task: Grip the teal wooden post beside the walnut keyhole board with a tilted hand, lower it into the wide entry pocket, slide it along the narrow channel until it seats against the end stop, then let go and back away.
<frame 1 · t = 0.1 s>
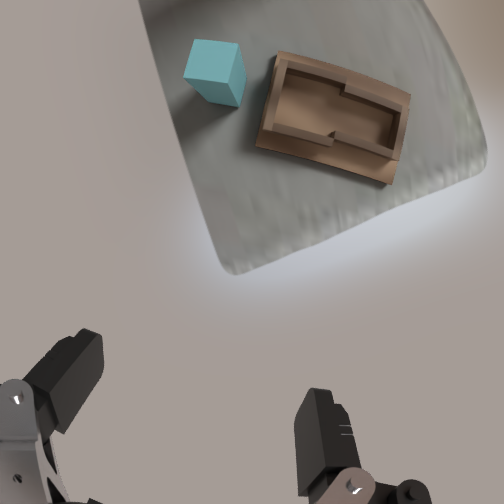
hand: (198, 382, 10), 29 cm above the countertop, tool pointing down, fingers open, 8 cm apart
keyhole board: (337, 116, 33), on the countertop
post: (227, 90, 33), on the countertop
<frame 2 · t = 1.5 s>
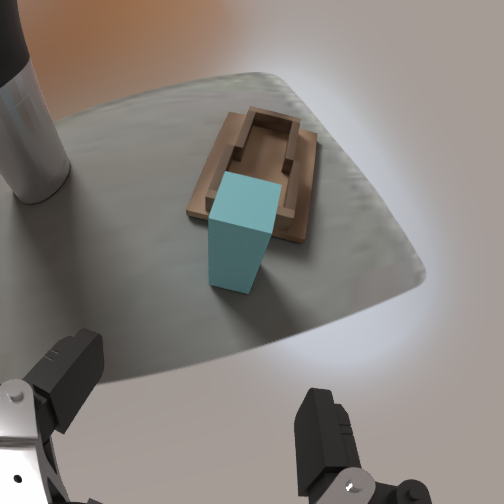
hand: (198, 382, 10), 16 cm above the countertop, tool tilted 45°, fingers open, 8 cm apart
keyhole board: (260, 169, 36), on the countertop
post: (233, 271, 30), on the countertop
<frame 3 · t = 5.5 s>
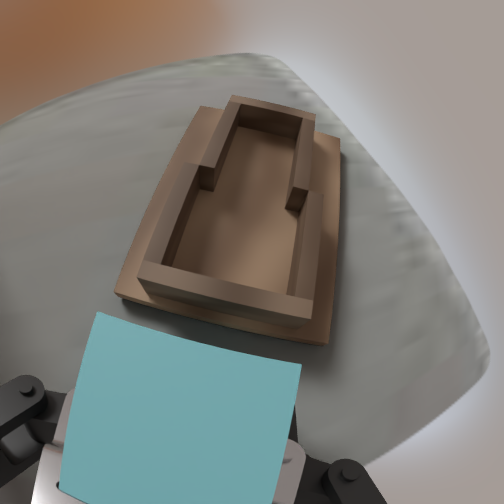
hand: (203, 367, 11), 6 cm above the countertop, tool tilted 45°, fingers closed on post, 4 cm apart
keyhole board: (248, 202, 21), on the countertop
post: (199, 405, 15), on the countertop, touching gripper
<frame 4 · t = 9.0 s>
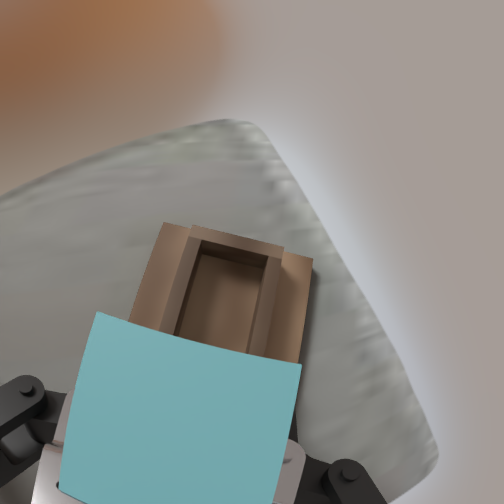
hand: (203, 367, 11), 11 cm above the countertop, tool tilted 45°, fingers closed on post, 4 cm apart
keyhole board: (211, 348, 21), on the countertop
post: (199, 405, 15), point 5 cm above the countertop, touching gripper
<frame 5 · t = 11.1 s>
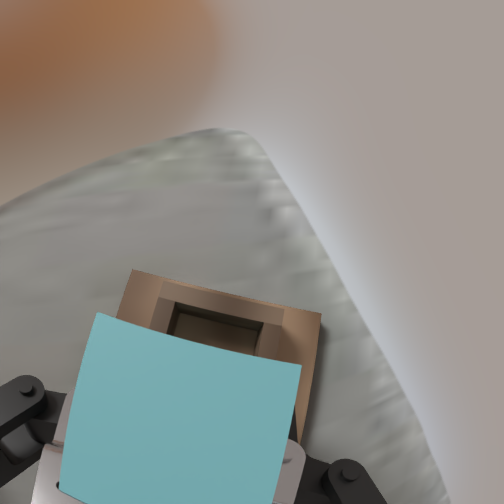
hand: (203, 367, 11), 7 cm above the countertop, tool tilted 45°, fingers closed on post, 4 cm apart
keyhole board: (195, 427, 16), on the countertop
post: (199, 406, 15), point 2 cm above the countertop, touching gripper
when the fingers open (7 cm above the countertop, at t = 12.9 s): post stays where it is, resting on keyhole board.
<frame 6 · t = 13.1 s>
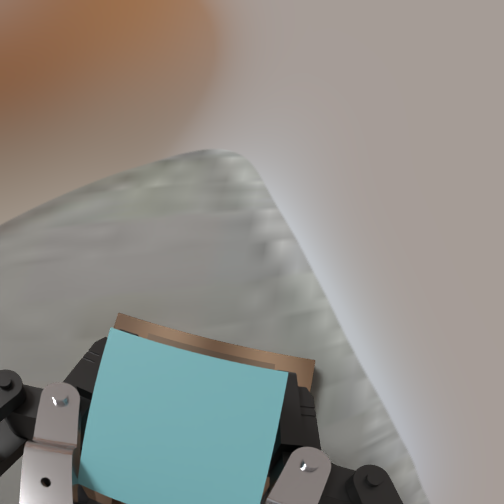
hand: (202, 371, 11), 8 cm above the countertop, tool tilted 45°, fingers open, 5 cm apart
keyhole board: (185, 469, 14), on the countertop
post: (199, 406, 16), point 1 cm above the countertop, touching keyhole board
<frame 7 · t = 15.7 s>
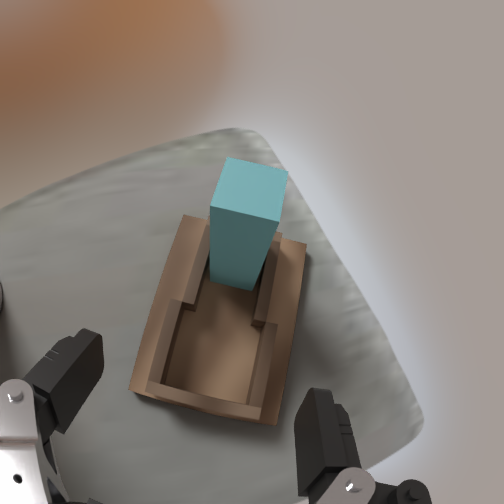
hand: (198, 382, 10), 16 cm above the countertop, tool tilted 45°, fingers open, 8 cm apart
keyhole board: (223, 316, 27), on the countertop
post: (235, 266, 28), point 1 cm above the countertop, touching keyhole board
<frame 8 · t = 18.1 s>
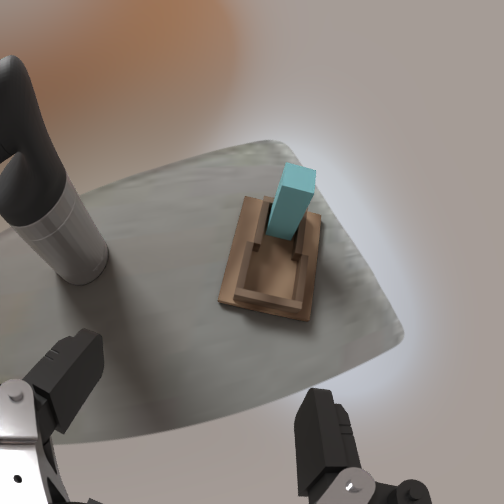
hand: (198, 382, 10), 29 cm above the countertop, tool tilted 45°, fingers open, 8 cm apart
keyhole board: (273, 256, 45), on the countertop
post: (280, 226, 46), point 1 cm above the countertop, touching keyhole board
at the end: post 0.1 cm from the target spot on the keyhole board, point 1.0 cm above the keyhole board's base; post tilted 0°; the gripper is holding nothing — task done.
